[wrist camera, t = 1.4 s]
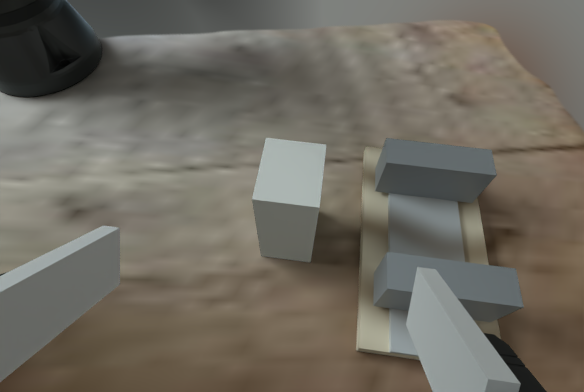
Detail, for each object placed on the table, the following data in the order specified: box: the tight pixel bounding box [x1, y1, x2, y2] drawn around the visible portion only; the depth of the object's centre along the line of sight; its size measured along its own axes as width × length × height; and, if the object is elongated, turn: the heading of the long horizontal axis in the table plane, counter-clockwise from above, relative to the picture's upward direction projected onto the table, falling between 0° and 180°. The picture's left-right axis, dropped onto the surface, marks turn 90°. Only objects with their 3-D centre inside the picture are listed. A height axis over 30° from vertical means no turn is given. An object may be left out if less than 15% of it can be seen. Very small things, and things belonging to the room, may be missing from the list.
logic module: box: [252, 138, 326, 263], centre depth 32 cm, size 6×5×11 cm
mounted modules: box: [373, 138, 524, 322], centre depth 32 cm, size 15×10×5 cm, turn 172°
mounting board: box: [356, 146, 501, 360], centre depth 36 cm, size 22×12×2 cm, turn 172°
